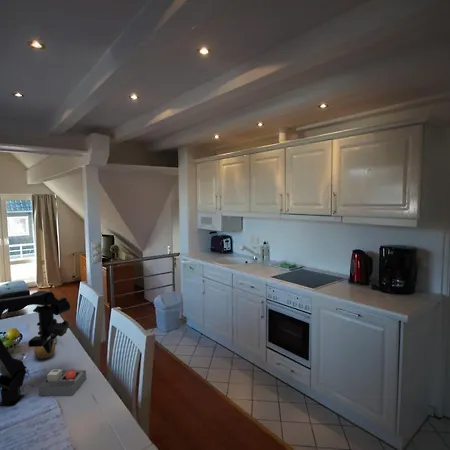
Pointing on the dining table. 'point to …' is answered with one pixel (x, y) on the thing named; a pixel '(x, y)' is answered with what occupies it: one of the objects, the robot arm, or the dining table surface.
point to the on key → (54, 375)
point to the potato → (43, 352)
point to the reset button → (70, 374)
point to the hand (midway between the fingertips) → (49, 352)
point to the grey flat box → (62, 385)
